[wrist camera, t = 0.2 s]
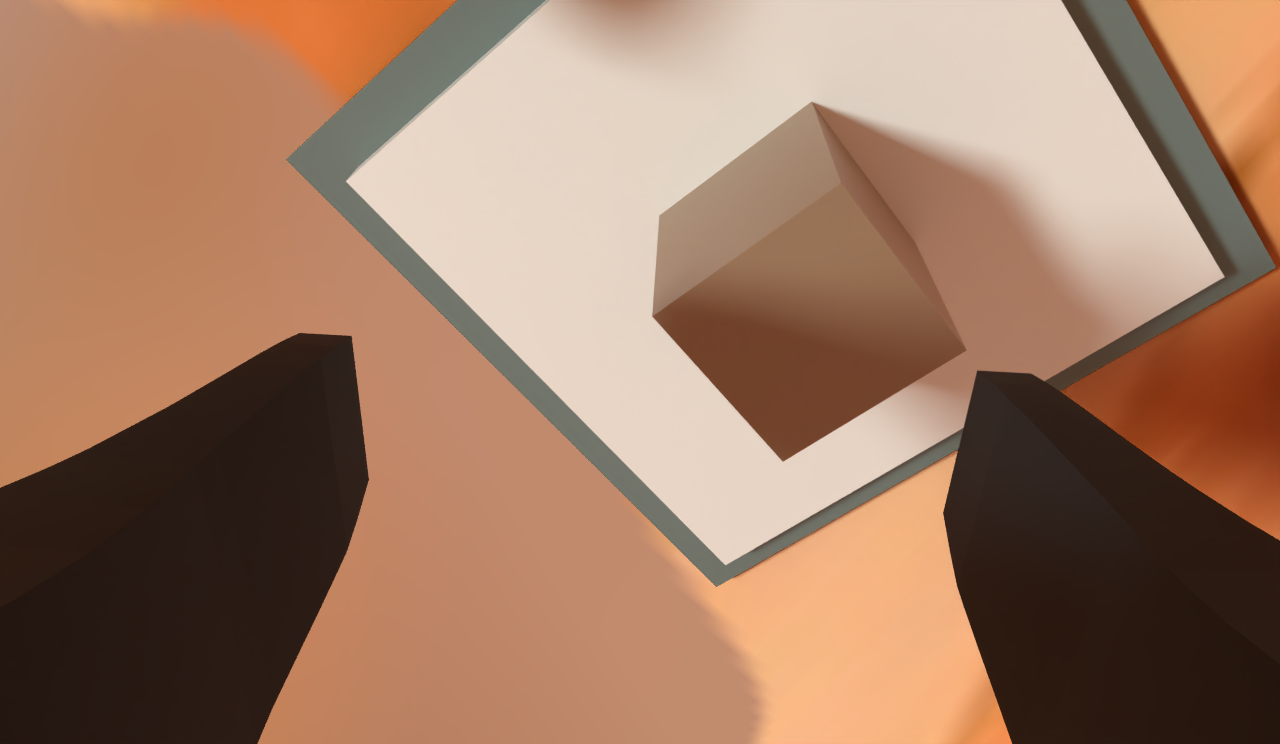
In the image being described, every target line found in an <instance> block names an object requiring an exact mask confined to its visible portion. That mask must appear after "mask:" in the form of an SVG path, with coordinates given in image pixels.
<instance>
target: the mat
mask: <svg viewBox="0 0 1280 744" xmlns="http://www.w3.org/2000/svg"><path fill="white" fill-rule="evenodd" d="M544 1H545V0H457V1H456V2H455V3H454V4H453V5H452V6H451V7H450V8H449V9H448V10H447V11H446V12H444V13H443V14H442V15H441V16H440V17H439V18H438V19H437V20H436V21H435V22H434V23H433V24H431V25H430V26H429V27H428V28H427V29H426V30H425V31H424V32H423V33H422V34H421V35H420V36H419V37H417V38H416V39H415V40H414V41H413V42H412V43H411V44H410V45H409V46H408V47H407V48H406V49H405V50H403V51H402V52H401V53H400V54H399V55H398V56H397V57H396V58H395V59H394V60H393V61H392V62H390V63H389V64H388V65H387V66H386V67H385V68H384V69H383V70H382V71H381V72H380V73H379V74H378V75H376V76H375V77H374V78H373V79H372V80H371V81H370V82H369V83H368V84H367V85H366V86H365V87H364V88H362V89H361V90H360V91H359V92H358V93H357V94H356V95H355V96H354V97H353V98H352V99H351V100H350V101H348V102H347V103H346V104H345V105H344V106H343V107H342V108H341V109H340V110H339V111H338V112H337V113H335V114H334V115H333V116H332V117H331V118H330V119H329V120H328V121H327V122H326V123H325V124H324V125H323V126H321V128H319V129H318V130H317V131H316V132H315V133H314V134H313V135H312V136H311V137H310V138H309V139H307V140H306V141H305V142H304V143H303V144H302V145H301V146H300V147H299V148H298V149H297V150H296V151H295V152H293V153H292V154H291V155H290V156H289V157H288V158H287V159H286V160H287V161H288V162H289V163H290V164H291V165H292V166H293V167H294V168H295V169H296V170H297V171H298V172H299V173H300V174H301V175H302V176H303V177H304V178H305V179H306V180H307V181H308V182H309V183H310V184H311V185H312V186H313V187H314V188H315V189H316V190H317V191H318V192H319V193H320V194H321V195H322V196H323V197H324V198H325V199H326V200H327V201H328V202H329V203H330V204H331V205H332V206H333V207H334V208H336V209H337V211H338V212H340V213H341V214H342V216H343V217H345V219H347V220H348V221H349V223H350V224H352V226H354V227H355V228H356V229H357V230H358V231H359V232H360V233H361V234H362V235H363V236H364V237H365V238H366V239H367V240H368V241H369V242H370V243H371V244H372V245H373V246H374V247H375V248H376V249H377V250H378V251H379V252H380V253H381V254H382V255H383V256H384V257H385V258H386V259H387V260H388V261H389V262H390V263H391V264H392V265H393V266H394V267H395V268H396V269H397V270H398V271H399V272H400V273H401V274H402V275H403V276H404V277H405V278H406V279H407V280H408V281H409V282H410V283H411V284H412V285H413V286H414V287H415V288H416V289H417V290H418V291H419V292H420V293H421V294H422V295H423V296H424V297H425V298H426V299H427V300H428V301H429V302H430V303H431V304H432V305H433V306H434V307H435V308H436V309H437V310H438V311H439V312H440V313H441V314H442V315H443V316H444V317H445V318H446V319H448V321H449V322H450V323H451V324H452V325H453V326H454V327H455V328H456V329H457V330H458V331H459V332H460V333H461V334H462V335H463V336H464V337H466V339H467V340H468V341H469V342H470V343H471V344H472V345H473V346H474V347H475V348H476V349H477V350H478V351H479V352H481V354H482V355H483V356H485V358H486V359H487V360H488V361H489V362H490V363H492V364H493V365H494V367H495V368H496V369H497V370H498V371H500V372H501V373H502V374H503V375H504V376H505V377H506V378H507V379H508V380H509V381H510V382H511V383H512V384H513V385H514V386H515V387H516V388H517V389H518V390H519V391H520V392H521V393H522V394H523V395H524V396H525V397H526V398H527V399H528V400H529V401H530V402H531V403H532V404H533V405H534V406H535V407H536V408H537V409H538V410H539V411H540V412H541V413H542V414H543V415H544V416H545V417H546V418H547V419H548V420H549V421H550V422H551V423H552V424H553V425H554V426H555V427H556V428H557V429H558V430H559V431H560V432H561V433H562V434H563V435H564V436H565V437H566V438H567V439H568V440H569V441H570V442H571V443H572V444H573V445H574V446H575V447H576V448H577V449H578V450H579V451H580V452H581V453H582V454H583V455H584V456H585V457H586V458H587V459H588V460H589V461H590V462H591V463H592V464H593V465H594V466H595V467H596V468H597V469H598V470H599V471H600V472H601V473H602V474H603V475H604V476H605V477H606V478H607V479H608V480H609V481H610V482H611V483H612V484H613V485H614V486H615V487H617V489H618V490H619V491H620V492H621V493H622V494H623V495H624V496H625V497H626V498H627V499H628V500H629V501H630V502H631V503H632V504H633V505H634V506H635V507H636V508H637V509H638V510H639V511H640V512H641V513H642V514H643V515H644V516H645V517H647V518H648V519H649V520H650V521H651V522H652V523H653V524H654V525H655V526H656V527H657V528H658V529H659V530H660V531H661V532H662V533H663V534H664V535H665V536H666V537H667V538H668V539H669V540H670V541H671V542H672V543H673V544H674V545H675V546H676V547H677V548H678V549H679V550H680V551H681V552H682V553H683V554H684V555H685V556H686V557H687V558H688V559H689V560H690V561H691V562H692V563H693V564H694V565H695V566H696V567H697V568H698V569H699V570H700V571H701V572H702V573H703V574H704V575H705V576H706V577H707V578H708V579H709V580H710V581H711V582H712V583H713V584H714V585H715V586H716V587H717V586H719V585H721V584H723V583H724V582H726V581H728V580H730V579H731V578H733V577H735V576H737V575H738V574H740V573H742V572H744V571H745V570H747V569H749V568H751V567H752V566H754V565H756V564H758V563H759V562H761V561H763V560H765V559H766V558H768V557H770V556H772V555H773V554H775V553H777V552H779V551H780V550H782V549H784V548H786V547H787V546H789V545H791V544H793V543H794V542H796V541H798V540H800V539H801V538H803V537H805V536H807V535H808V534H810V533H812V532H814V531H815V530H817V529H819V528H821V527H822V526H824V525H826V524H828V523H829V522H831V521H833V520H835V519H836V518H838V517H840V516H842V515H844V514H845V513H847V512H849V511H851V510H852V509H854V508H856V507H858V506H859V505H861V504H863V503H865V502H866V501H868V500H870V499H872V498H873V497H875V496H877V495H879V494H880V493H882V492H884V491H886V490H887V489H889V488H891V487H893V486H894V485H896V484H898V483H900V482H901V481H903V480H905V479H907V478H908V477H910V476H912V475H914V474H915V473H917V472H919V471H921V470H922V469H924V468H926V467H928V466H929V465H931V464H933V463H935V462H936V461H938V460H940V459H942V458H943V457H945V456H947V455H949V454H950V453H952V452H954V451H956V450H957V449H959V445H960V441H961V436H962V432H963V428H962V429H961V430H959V431H957V432H955V433H954V434H952V435H950V436H949V437H947V438H945V439H943V440H942V441H940V442H938V443H936V444H935V445H933V446H931V447H929V448H928V449H926V450H924V451H923V452H921V453H919V454H917V455H916V456H914V457H912V458H910V459H909V460H907V461H905V462H903V463H902V464H900V465H898V466H897V467H895V468H893V469H891V470H890V471H888V472H886V473H884V474H883V475H881V476H879V477H878V478H876V479H874V480H872V481H871V482H869V483H867V484H865V485H864V486H862V487H860V488H858V489H857V490H855V491H853V492H852V493H850V494H848V495H846V496H845V497H843V498H841V499H839V500H838V501H836V502H834V503H832V504H831V505H829V506H827V507H826V508H824V509H822V510H820V511H819V512H817V513H815V514H813V515H812V516H810V517H808V518H807V519H805V520H803V521H801V522H800V523H798V524H796V525H794V526H793V527H791V528H789V529H787V530H786V531H784V532H782V533H781V534H779V535H777V536H775V537H774V538H772V539H770V540H768V541H767V542H765V543H763V544H762V545H760V546H758V547H756V548H755V549H753V550H751V551H749V552H748V553H746V554H744V555H742V556H741V557H739V558H737V559H736V560H734V561H732V562H730V563H729V564H727V565H725V564H724V563H723V562H722V561H721V560H720V559H719V558H718V557H717V556H716V555H715V554H714V553H713V552H712V551H711V550H710V549H709V548H708V547H707V546H706V545H705V544H704V543H703V542H702V541H701V540H700V539H699V538H698V537H697V536H696V535H695V534H694V533H693V532H692V531H691V530H690V529H689V528H688V527H687V526H686V525H685V524H684V523H683V522H682V521H681V520H680V519H679V518H678V517H677V516H676V515H675V514H674V513H673V512H672V511H671V510H670V509H669V508H668V507H667V506H666V505H665V504H664V503H663V502H662V501H661V500H660V499H659V498H658V497H657V496H656V495H655V494H654V493H653V492H652V491H651V490H650V489H649V488H648V487H647V486H646V484H645V483H644V482H643V481H642V480H641V479H640V478H639V477H638V476H637V475H636V474H635V473H634V472H633V471H632V470H631V469H630V468H629V467H628V466H627V465H626V464H625V463H624V462H623V461H622V460H621V459H620V458H619V457H618V456H617V455H616V454H615V453H614V452H613V451H612V450H611V449H610V448H609V447H608V446H607V445H606V444H605V443H604V442H603V441H602V440H601V439H600V438H599V437H598V436H597V435H596V434H595V433H594V432H593V431H592V430H591V429H590V428H589V427H588V426H587V425H586V424H585V423H584V422H583V421H582V420H581V419H580V418H579V417H578V416H577V415H576V414H575V413H574V412H573V411H572V410H571V409H570V408H569V407H568V406H567V405H566V404H565V403H564V402H563V401H562V400H561V399H560V398H559V396H558V395H557V394H556V393H555V392H554V391H553V390H552V389H551V388H550V387H549V386H548V385H547V384H546V383H545V382H544V381H543V380H542V379H541V378H540V377H539V376H538V375H537V374H536V373H535V372H534V371H533V370H532V369H531V368H530V367H529V366H528V365H527V364H526V363H525V362H524V361H523V360H522V359H521V358H520V357H519V356H518V355H517V354H516V353H515V352H514V351H513V350H512V349H511V348H510V347H509V346H508V345H507V344H506V343H505V342H504V341H503V340H502V339H501V338H500V337H499V336H498V335H497V334H496V333H495V332H494V331H493V330H492V329H491V328H490V327H489V326H488V325H487V324H486V323H485V322H484V321H483V320H482V319H481V318H480V317H479V316H478V315H477V314H476V313H475V312H474V311H473V310H472V308H471V307H470V306H469V305H468V304H467V303H466V302H465V301H464V300H463V299H462V298H461V297H460V296H459V295H458V294H457V293H456V292H455V291H454V290H453V289H452V288H451V287H450V286H449V285H448V284H447V283H446V282H445V281H444V280H443V279H442V278H441V277H440V276H439V275H438V274H437V273H436V272H435V271H434V270H433V269H432V268H431V267H430V266H429V265H428V264H427V263H426V262H425V261H424V260H423V259H422V258H421V257H420V256H419V255H418V254H417V253H416V252H415V251H414V250H413V249H412V248H411V247H410V246H409V245H408V244H407V243H406V242H405V241H404V240H403V239H402V238H401V237H400V236H399V235H398V234H397V233H396V232H395V231H394V230H393V229H392V228H391V227H390V226H389V225H388V224H387V223H386V222H385V220H384V219H383V218H382V217H381V216H380V215H379V214H378V213H377V212H376V211H375V210H374V209H373V208H372V207H371V206H370V205H369V204H368V203H367V202H366V201H365V200H364V199H363V198H362V197H361V196H360V195H359V194H358V193H357V192H356V191H355V190H354V189H353V188H352V187H351V186H350V185H349V184H348V183H347V182H346V181H347V179H348V178H349V177H350V176H351V175H352V173H353V172H354V171H355V170H356V169H357V168H358V167H359V166H360V165H361V164H362V163H363V162H364V161H365V160H366V159H368V158H369V157H370V156H371V155H372V154H373V153H374V152H375V151H377V150H378V149H379V148H380V147H381V146H382V145H383V144H384V143H386V142H387V141H388V140H389V139H390V138H391V137H392V136H393V135H395V134H396V133H397V132H398V131H399V130H400V129H401V128H402V127H404V126H405V125H406V124H407V123H408V122H409V121H410V120H411V119H413V118H414V117H415V116H416V115H417V114H418V113H419V112H420V111H422V110H423V109H424V108H425V107H426V106H427V105H428V104H429V103H431V102H432V101H433V100H434V99H435V98H436V97H437V96H438V95H440V94H441V93H442V92H443V91H444V90H445V89H446V88H447V87H449V86H450V85H451V84H452V83H453V82H454V81H455V80H456V79H458V78H459V77H460V76H461V75H462V74H463V73H464V72H465V71H467V70H468V69H469V68H470V67H471V66H472V65H473V64H474V63H476V62H477V61H478V60H479V59H480V58H481V57H482V56H483V55H485V54H486V53H487V52H488V51H489V50H490V49H491V48H492V47H494V46H495V45H496V44H497V43H498V42H499V41H500V40H501V39H503V38H504V37H505V36H506V35H507V34H508V33H509V32H510V31H512V30H513V29H514V28H515V27H516V26H517V25H518V24H519V23H521V22H522V21H523V20H524V19H525V18H526V17H527V16H528V15H530V14H531V13H532V12H533V11H534V10H535V9H536V8H537V7H539V6H540V5H541V4H542V3H543V2H544ZM1061 1H1062V3H1063V4H1064V6H1065V8H1066V9H1067V11H1068V13H1069V14H1070V16H1071V18H1072V19H1073V21H1074V23H1075V25H1076V26H1077V28H1078V30H1079V31H1080V33H1081V35H1082V36H1083V38H1084V40H1085V41H1086V43H1087V45H1088V47H1089V48H1090V50H1091V52H1092V53H1093V55H1094V57H1095V58H1096V60H1097V62H1098V63H1099V65H1100V67H1101V69H1102V70H1103V72H1104V74H1105V75H1106V77H1107V79H1108V80H1109V82H1110V84H1111V85H1112V87H1113V89H1114V91H1115V92H1116V94H1117V96H1118V97H1119V99H1120V101H1121V102H1122V104H1123V106H1124V107H1125V109H1126V111H1127V113H1128V114H1129V116H1130V118H1131V119H1132V121H1133V123H1134V124H1135V126H1136V128H1137V129H1138V131H1139V133H1140V135H1141V136H1142V138H1143V140H1144V141H1145V143H1146V145H1147V146H1148V148H1149V150H1150V152H1151V153H1152V155H1153V157H1154V158H1155V160H1156V162H1157V163H1158V165H1159V167H1160V168H1161V170H1162V172H1163V174H1164V175H1165V177H1166V179H1167V180H1168V182H1169V184H1170V185H1171V187H1172V189H1173V190H1174V192H1175V194H1176V196H1177V197H1178V199H1179V201H1180V202H1181V204H1182V206H1183V207H1184V209H1185V211H1186V212H1187V214H1188V216H1189V218H1190V219H1191V221H1192V223H1193V224H1194V226H1195V228H1196V229H1197V231H1198V233H1199V234H1200V236H1201V238H1202V240H1203V241H1204V243H1205V245H1206V246H1207V248H1208V250H1209V251H1210V253H1211V255H1212V256H1213V258H1214V260H1215V262H1216V263H1217V265H1218V267H1219V268H1220V270H1221V272H1222V273H1223V275H1224V278H1222V279H1220V280H1219V281H1217V282H1215V283H1213V284H1212V285H1210V286H1208V287H1206V288H1205V289H1203V290H1201V291H1200V292H1198V293H1196V294H1194V295H1193V296H1191V297H1189V298H1187V299H1186V300H1184V301H1182V302H1181V303H1179V304H1177V305H1175V306H1174V307H1172V308H1170V309H1168V310H1167V311H1165V312H1163V313H1161V314H1160V315H1158V316H1156V317H1155V318H1153V319H1151V320H1149V321H1148V322H1146V323H1144V324H1142V325H1141V326H1139V327H1137V328H1136V329H1134V330H1132V331H1130V332H1129V333H1127V334H1125V335H1123V336H1122V337H1120V338H1118V339H1116V340H1115V341H1113V342H1111V343H1110V344H1108V345H1106V346H1104V347H1103V348H1101V349H1099V350H1097V351H1096V352H1094V353H1092V354H1090V355H1089V356H1087V357H1085V358H1084V359H1082V360H1080V361H1078V362H1077V363H1075V364H1073V365H1071V366H1070V367H1068V368H1066V369H1065V370H1063V371H1061V372H1059V373H1058V374H1056V375H1054V376H1052V377H1051V378H1049V379H1047V380H1045V382H1046V383H1048V384H1049V385H1051V386H1053V387H1054V388H1055V389H1057V390H1058V391H1061V390H1063V389H1064V388H1066V387H1068V386H1070V385H1071V384H1073V383H1075V382H1077V381H1078V380H1080V379H1082V378H1084V377H1085V376H1087V375H1089V374H1091V373H1092V372H1094V371H1096V370H1098V369H1099V368H1101V367H1103V366H1105V365H1106V364H1108V363H1110V362H1112V361H1113V360H1115V359H1117V358H1119V357H1120V356H1122V355H1124V354H1126V353H1128V352H1129V351H1131V350H1133V349H1135V348H1136V347H1138V346H1140V345H1142V344H1143V343H1145V342H1147V341H1149V340H1150V339H1152V338H1154V337H1156V336H1157V335H1159V334H1161V333H1163V332H1164V331H1166V330H1168V329H1170V328H1171V327H1173V326H1175V325H1177V324H1178V323H1180V322H1182V321H1184V320H1185V319H1187V318H1189V317H1191V316H1192V315H1194V314H1196V313H1198V312H1199V311H1201V310H1203V309H1205V308H1206V307H1208V306H1210V305H1212V304H1213V303H1215V302H1217V301H1219V300H1220V299H1222V298H1224V297H1226V296H1227V295H1229V294H1231V293H1233V292H1234V291H1236V290H1238V289H1240V288H1241V287H1243V286H1245V285H1247V284H1248V283H1250V282H1252V281H1254V280H1255V279H1257V278H1259V277H1261V276H1262V275H1264V274H1266V273H1268V272H1269V271H1271V270H1273V269H1275V268H1276V266H1275V264H1274V262H1273V260H1272V259H1271V257H1270V255H1269V253H1268V252H1267V250H1266V248H1265V246H1264V244H1263V243H1262V241H1261V239H1260V237H1259V236H1258V234H1257V232H1256V230H1255V228H1254V227H1253V225H1252V223H1251V221H1250V220H1249V218H1248V216H1247V214H1246V212H1245V211H1244V209H1243V207H1242V205H1241V204H1240V202H1239V200H1238V198H1237V196H1236V195H1235V193H1234V191H1233V189H1232V187H1231V186H1230V184H1229V182H1228V180H1227V179H1226V177H1225V175H1224V173H1223V171H1222V170H1221V168H1220V166H1219V164H1218V163H1217V161H1216V159H1215V157H1214V155H1213V154H1212V152H1211V150H1210V148H1209V147H1208V145H1207V143H1206V141H1205V139H1204V138H1203V136H1202V134H1201V132H1200V131H1199V129H1198V127H1197V125H1196V123H1195V122H1194V120H1193V118H1192V116H1191V114H1190V113H1189V111H1188V109H1187V107H1186V106H1185V104H1184V102H1183V100H1182V98H1181V97H1180V95H1179V93H1178V91H1177V90H1176V88H1175V86H1174V84H1173V82H1172V81H1171V79H1170V77H1169V75H1168V74H1167V72H1166V70H1165V68H1164V66H1163V65H1162V63H1161V61H1160V59H1159V58H1158V56H1157V54H1156V52H1155V50H1154V49H1153V47H1152V45H1151V43H1150V41H1149V40H1148V38H1147V36H1146V34H1145V33H1144V31H1143V29H1142V27H1141V25H1140V24H1139V22H1138V20H1137V18H1136V17H1135V15H1134V13H1133V11H1132V9H1131V8H1130V6H1129V4H1128V2H1127V1H1126V0H1061Z"/></svg>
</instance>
